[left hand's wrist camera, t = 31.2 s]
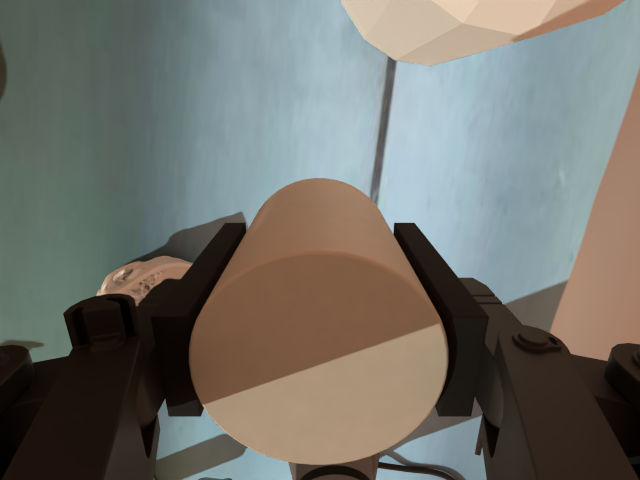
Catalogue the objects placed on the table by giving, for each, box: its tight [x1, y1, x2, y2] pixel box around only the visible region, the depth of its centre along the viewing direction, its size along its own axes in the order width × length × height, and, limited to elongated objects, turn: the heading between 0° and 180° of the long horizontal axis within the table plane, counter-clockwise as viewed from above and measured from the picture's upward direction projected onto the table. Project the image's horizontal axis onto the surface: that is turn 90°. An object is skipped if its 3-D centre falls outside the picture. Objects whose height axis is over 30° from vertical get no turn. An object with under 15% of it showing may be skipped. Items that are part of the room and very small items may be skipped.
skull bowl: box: [97, 256, 193, 306], centre depth 48 cm, size 10×14×12 cm
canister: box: [189, 178, 449, 465], centre depth 11 cm, size 6×6×7 cm
